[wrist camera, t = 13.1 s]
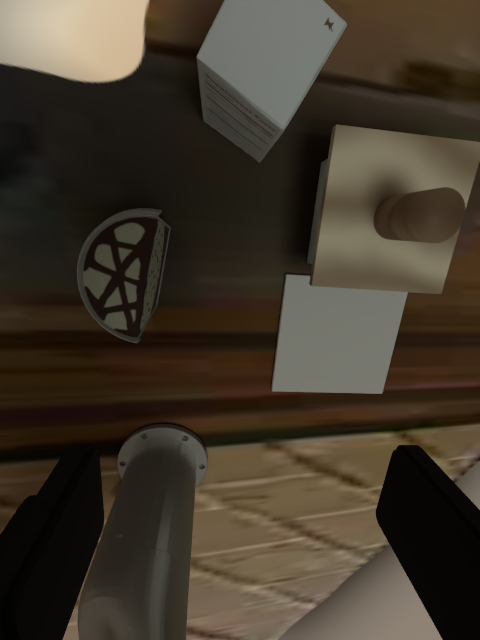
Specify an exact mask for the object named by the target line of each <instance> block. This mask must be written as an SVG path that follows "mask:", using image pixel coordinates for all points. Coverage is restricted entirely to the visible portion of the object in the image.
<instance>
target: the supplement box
mask: <svg viewBox="0 0 480 640" xmlns="http://www.w3.org/2000/svg"><path fill="white" fill-rule="evenodd" d="M346 27H347V23H346V22H345V21H344V20H343V19H342V18H341V17H340V16H338V15H337V14H336V13H335V12H334V11H333V10H332V9H331V8H330V7H329V6H328V5H327V4H326V3H325V2H324V1H323V0H224V2H223V4H222V6H221V8H220V10H219V12H218V14H217V16H216V18H215V20H214V22H213V24H212V26H211V28H210V30H209V32H208V34H207V36H206V38H205V40H204V42H203V44H202V46H201V48H200V50H199V53H198V54H197V57H196V58H197V65H198V75H199V85H200V95H201V104H202V113H203V121H204V122H205V123H207V124H208V125H209V126H211V127H212V128H214V129H215V130H216V131H218V132H219V133H220V134H222V135H223V136H224V137H226V138H227V139H228V140H230V141H231V142H232V143H234V144H235V145H236V146H238V147H239V148H240V149H242V150H243V151H244V152H246V153H247V154H248V155H250V156H251V157H252V158H254V159H255V160H256V161H258V162H259V163H260V162H261V161H262V160H263V158H264V157H265V155H266V154H267V153H268V151H269V150H270V149H271V148H272V146H273V145H274V144H275V142H276V141H277V140H278V139H279V137H280V136H281V135H282V133H283V132H284V130H285V128H286V127H287V125H288V124H289V122H290V120H291V119H292V117H293V115H294V114H295V112H296V111H297V109H298V107H299V106H300V104H301V102H302V100H303V99H304V97H305V95H306V94H307V92H308V90H309V89H310V87H311V85H312V84H313V82H314V80H315V79H316V77H317V75H318V74H319V72H320V70H321V68H322V67H323V65H324V63H325V62H326V60H327V58H328V57H329V55H330V53H331V51H332V50H333V48H334V46H335V45H336V43H337V41H338V40H339V38H340V36H341V35H342V33H343V32H344V30H345V28H346Z"/></svg>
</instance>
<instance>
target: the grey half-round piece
mask: <svg viewBox="0 0 480 640" xmlns="http://www.w3.org/2000/svg"><path fill="white" fill-rule="evenodd" d="M161 212H162V210H157V209H151V208H138V209H131V210H126V211H123V212H120V213H117V214H115V215H113V216H112V217H110V218H108V219H106V220H105V221H104V222H103V223H101V224H100V225H99V226H98V227H96V228H95V229H94V230H93V232H92V233H91V234H90V235H89V236H88V238H87V239H86V241H85V243H84V244H83V246H82V249H81V252H80V254H79V258H78V264H77V281H78V287H79V291H80V294H81V297H82V300H83V302H84V304H85V306H86V308H87V310H88V311H89V312H90V314H91V315H92V317H93V318H94V319H95V320H96V321H97V322H98V323H99V324H100V325H101V326H102V327H103V328H105V329H106V330H107V331H108V332H110V333H112V334H113V335H115V336H117V337H119V338H121V339H124V340H126V341H129V342H133V343H138V342H139V341H140V340H141V339H139V338H140V336H141V334H142V332H143V330H144V329H145V327H146V325H147V323H148V321H149V319H150V318H151V316H152V314H153V312H154V310H155V309H156V307H157V304H158V299H159V293H160V287H161V282H162V276H163V270H164V265H165V259H166V253H167V248H168V242H169V236H170V231H171V227H170V226H169V225H168V224H167V223H165V222H164V221H163V220H162V219H161V218H160V217H159V216H158V215H159V214H160V213H161Z"/></svg>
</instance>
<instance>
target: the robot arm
mask: <svg viewBox="0 0 480 640" xmlns="http://www.w3.org/2000/svg"><path fill="white" fill-rule="evenodd" d="M207 466H208V456H207V451H206V448H205V446H204V444H203V443H202V441H201V440H200V438H198V437H197V436H196V435H195V434H194V433H193V432H191V431H189V430H188V429H185V428H183V427H180V426H177V425H172V424H156V425H150V426H147V427H144V428H142V429H140V430H137V431H136V432H135V433H133V434H132V435H130V436H129V437H128V439H127V440H126V441H125V442H124V444H123V445H122V447H121V450H120V452H119V455H118V460H117V469H118V472H119V475H120V477H121V479H122V480H121V483H120V486H119V489H118V491H117V494H116V497H115V500H114V503H113V505H112V508H111V511H110V514H109V517H108V519H107V522H106V525H105V528H104V531H103V533H102V536H101V539H100V542H99V545H98V547H97V550H96V553H95V556H94V559H93V561H92V564H91V567H90V570H89V573H88V575H87V578H86V581H85V584H84V587H83V590H82V593H81V597H80V602H79V608H78V633H79V640H186V627H187V607H188V591H189V575H190V561H191V546H192V530H193V514H194V499H195V488H196V487H197V486H198V485H199V484H200V482H201V481H202V480H203V478H204V476H205V474H206V471H207ZM376 518H377V521H378V524H379V526H380V527H381V529H382V531H383V533H384V535H385V536H386V538H387V540H388V542H389V544H390V545H391V547H392V549H393V551H394V553H395V554H396V556H397V558H398V560H399V562H400V563H401V565H402V567H403V569H404V571H405V572H406V574H407V576H408V578H409V580H410V581H411V583H412V585H413V586H414V589H415V590H416V592H417V594H418V596H419V598H420V599H421V601H422V603H423V605H424V607H425V608H426V610H427V612H428V614H429V616H430V617H431V619H432V621H433V623H434V625H435V626H436V628H437V630H438V632H439V634H440V635H441V637H442V639H443V640H480V510H479V509H478V508H477V507H476V506H475V505H474V504H473V503H472V502H471V500H470V499H469V498H468V497H467V496H466V495H465V494H464V493H463V492H462V491H461V490H460V489H459V488H458V487H457V485H456V484H455V483H454V482H453V481H452V480H451V479H450V478H449V477H448V476H447V475H446V474H445V473H444V472H443V470H442V469H441V468H440V467H439V466H438V465H437V464H436V463H435V462H434V461H433V460H432V459H431V458H430V457H429V456H428V454H427V453H426V452H425V451H424V450H423V449H422V448H421V447H419V446H417V445H399V446H398V447H397V449H396V450H394V451H393V453H392V456H391V459H390V463H389V466H388V470H387V473H386V477H385V481H384V484H383V488H382V491H381V495H380V498H379V502H378V505H377V509H376ZM103 524H104V508H103V496H102V483H101V470H100V457H99V451H98V450H93V446H92V445H91V444H71V445H70V446H69V447H68V448H67V449H66V451H65V452H64V454H63V456H62V457H61V459H60V460H59V462H58V463H57V465H56V466H55V468H54V469H53V471H52V472H51V474H50V475H49V477H48V479H47V480H46V482H45V483H44V485H43V486H42V488H41V489H40V491H39V492H38V494H37V495H33V496H29V497H28V498H26V499H25V500H24V501H23V503H22V504H21V505H20V507H19V508H18V510H17V511H16V512H15V514H14V515H13V517H12V518H11V520H10V521H9V523H8V524H7V526H6V527H5V528H4V530H3V531H2V533H1V534H0V640H62V639H63V637H64V634H65V631H66V628H67V626H68V623H69V620H70V617H71V615H72V612H73V609H74V606H75V604H76V601H77V598H78V595H79V593H80V590H81V587H82V584H83V581H84V579H85V576H86V573H87V570H88V568H89V565H90V562H91V559H92V557H93V554H94V551H95V548H96V546H97V543H98V540H99V537H100V535H101V532H102V528H103Z"/></svg>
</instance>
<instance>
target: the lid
mask: <svg viewBox="0 0 480 640" xmlns="http://www.w3.org/2000/svg"><path fill="white" fill-rule="evenodd" d="M479 160H480V142H474V141H466V140H457V139H449V138H441V137H433V136H425V135H417V134H409V133H401V132H393V131H385V130H377V129H369V128H360V127H352V126H344V125H335V126H334V127H333V128H332V135H331V142H330V148H329V155H328V162H327V168H326V175H325V182H324V189H323V195H322V202H321V209H320V215H319V222H318V229H317V235H316V242H315V249H314V255H313V262H312V269H311V275H310V282H309V285H311V286H318V287H334V288H350V289H366V290H383V291H399V292H415V293H431V294H441V293H442V289H443V286H444V282H445V279H446V275H447V272H448V268H449V265H450V261H451V258H452V254H453V251H454V247H455V244H456V240H457V237H458V233H459V230H460V227H461V225H462V223H463V220H464V217H465V209H466V206H467V202H468V199H469V195H470V192H471V188H472V185H473V181H474V178H475V174H476V171H477V167H478V164H479Z"/></svg>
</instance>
